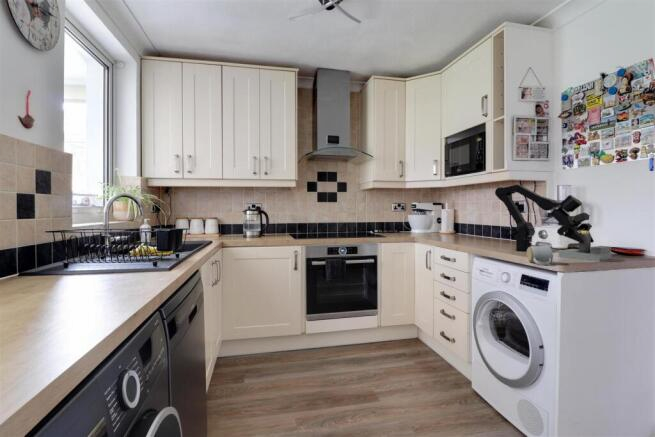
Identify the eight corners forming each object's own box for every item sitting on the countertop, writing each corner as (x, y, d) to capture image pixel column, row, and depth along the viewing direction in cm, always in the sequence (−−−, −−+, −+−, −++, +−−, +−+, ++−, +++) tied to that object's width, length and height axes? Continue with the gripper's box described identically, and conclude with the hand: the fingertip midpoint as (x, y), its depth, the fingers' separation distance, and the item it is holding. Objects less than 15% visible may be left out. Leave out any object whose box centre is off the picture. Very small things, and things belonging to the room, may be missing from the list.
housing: (559, 256, 153) (559, 244, 153) (571, 254, 159) (571, 243, 159) (599, 261, 139) (599, 248, 139) (611, 259, 145) (611, 246, 145)
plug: (582, 258, 147) (583, 231, 147) (575, 257, 152) (576, 230, 151) (593, 258, 147) (594, 231, 146) (585, 257, 151) (586, 230, 151)
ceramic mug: (525, 261, 141) (525, 244, 141) (546, 261, 139) (546, 244, 138) (533, 265, 131) (534, 247, 130) (556, 266, 128) (557, 248, 128)
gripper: (564, 207, 148) (590, 232, 139) (588, 207, 156) (614, 230, 146) (547, 223, 156) (570, 247, 146) (570, 222, 163) (594, 245, 153)
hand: (588, 242), depth 148 cm, fingers open, 7 cm apart
